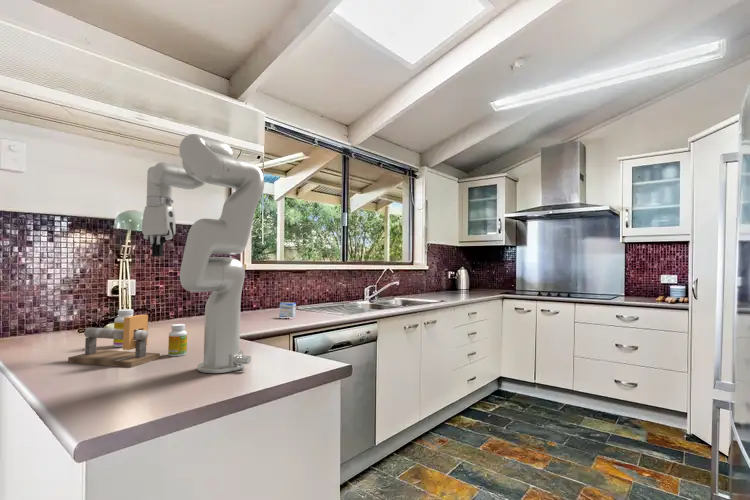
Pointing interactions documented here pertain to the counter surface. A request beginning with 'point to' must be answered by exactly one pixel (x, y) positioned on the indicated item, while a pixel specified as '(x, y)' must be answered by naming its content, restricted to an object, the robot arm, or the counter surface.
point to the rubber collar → (129, 327)
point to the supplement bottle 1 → (121, 325)
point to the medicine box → (287, 310)
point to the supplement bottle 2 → (177, 340)
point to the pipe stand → (110, 355)
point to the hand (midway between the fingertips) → (157, 256)
